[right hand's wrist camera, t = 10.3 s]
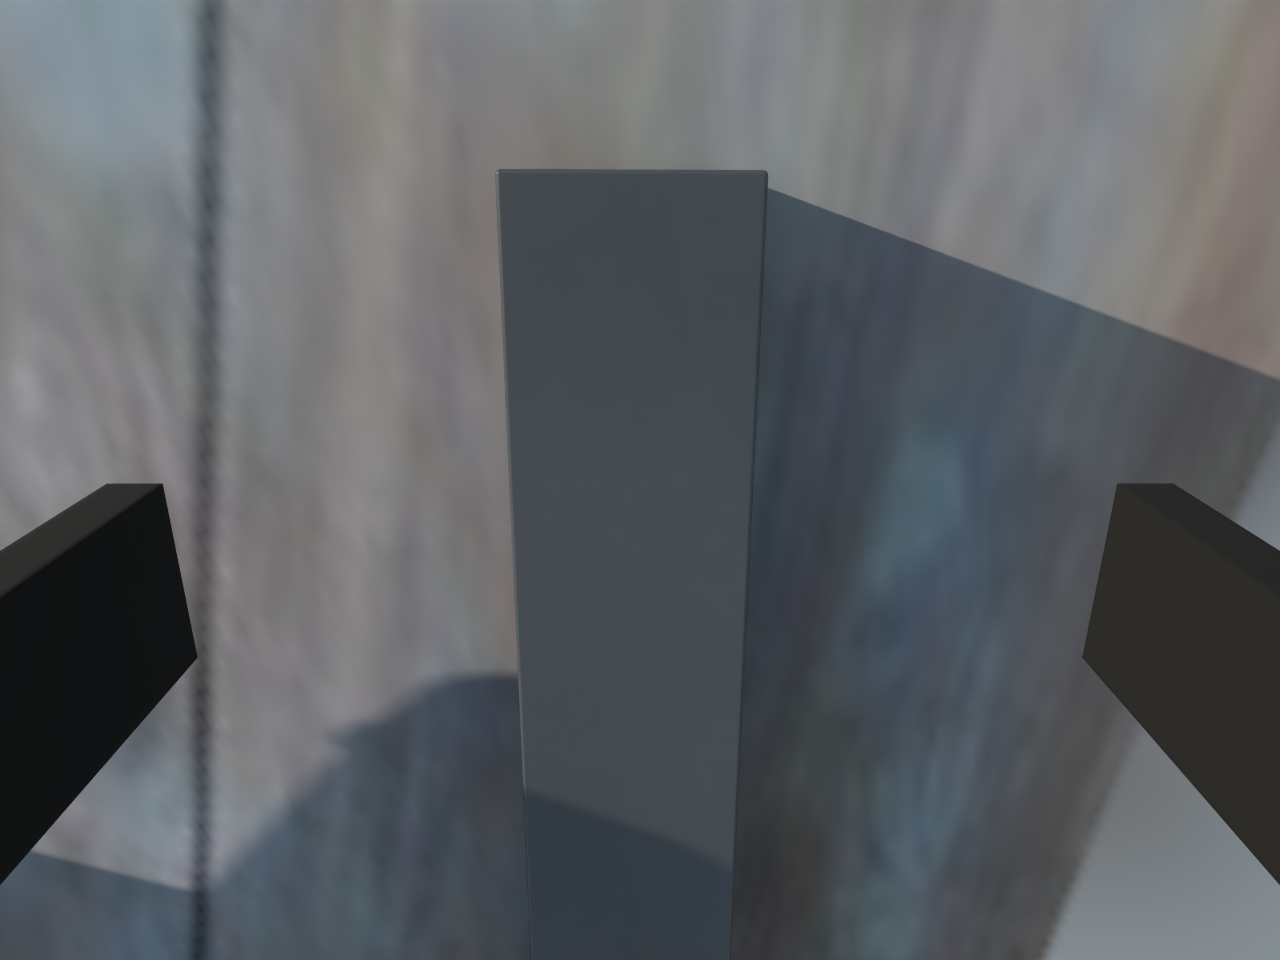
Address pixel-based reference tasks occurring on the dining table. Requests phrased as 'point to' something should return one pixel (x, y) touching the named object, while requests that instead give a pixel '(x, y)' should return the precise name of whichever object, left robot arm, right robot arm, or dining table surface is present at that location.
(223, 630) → the dining table surface
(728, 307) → the beam
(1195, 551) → the right robot arm
